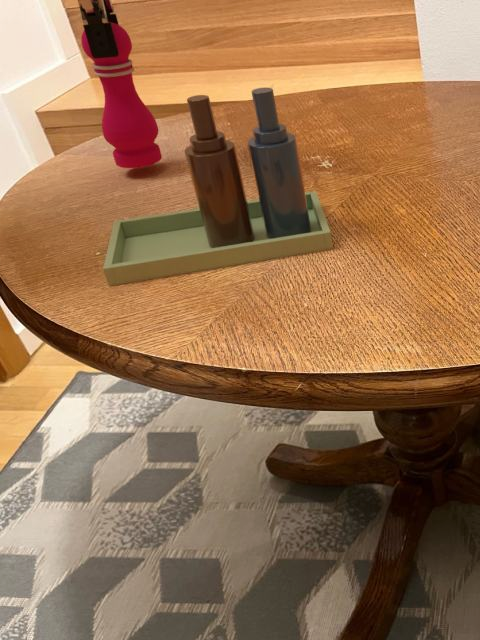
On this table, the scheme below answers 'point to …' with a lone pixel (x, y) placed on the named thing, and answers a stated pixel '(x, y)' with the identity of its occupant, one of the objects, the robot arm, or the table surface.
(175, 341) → the table surface
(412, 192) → the table surface
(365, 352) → the table surface
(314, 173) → the table surface
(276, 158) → the blue bottle
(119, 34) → the pepper mill
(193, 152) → the brown bottle
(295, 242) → the tray
